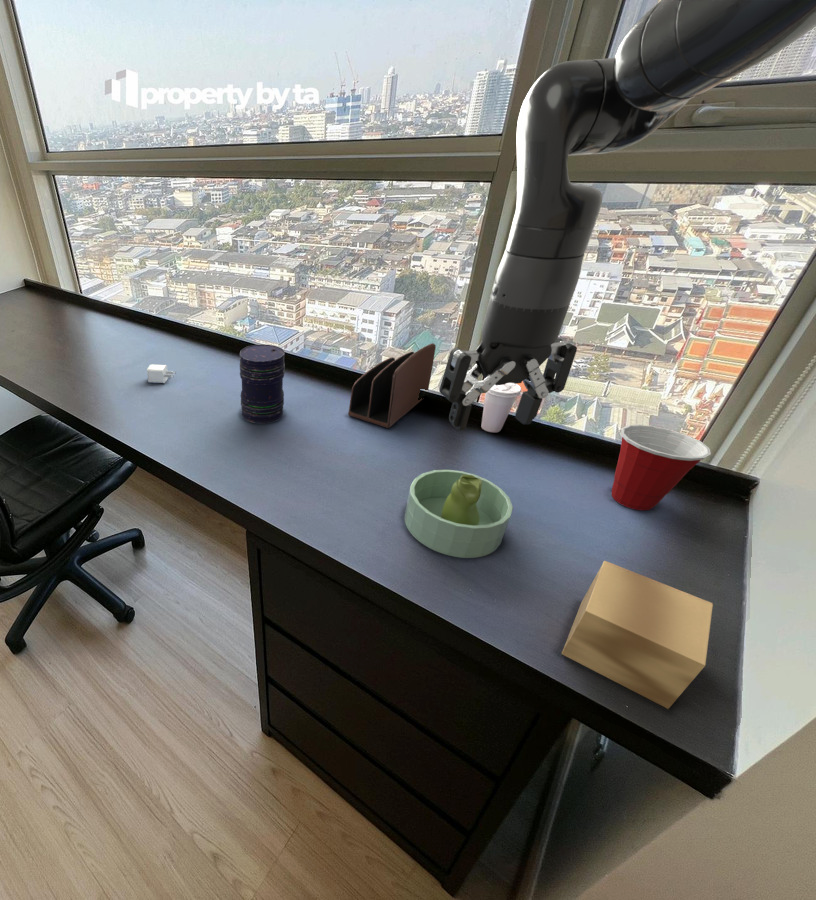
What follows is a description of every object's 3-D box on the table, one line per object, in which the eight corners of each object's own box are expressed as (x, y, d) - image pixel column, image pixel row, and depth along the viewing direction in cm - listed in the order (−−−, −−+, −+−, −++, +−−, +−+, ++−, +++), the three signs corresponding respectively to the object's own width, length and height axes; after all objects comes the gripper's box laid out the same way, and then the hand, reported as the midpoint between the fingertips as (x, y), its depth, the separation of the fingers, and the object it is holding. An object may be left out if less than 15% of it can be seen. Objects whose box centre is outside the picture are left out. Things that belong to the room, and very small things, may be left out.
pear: (440, 514, 79) (453, 464, 73) (476, 523, 76) (492, 472, 71) (435, 535, 75) (449, 484, 69) (473, 546, 72) (490, 494, 67)
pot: (523, 542, 73) (535, 512, 70) (446, 569, 70) (455, 538, 66) (455, 489, 84) (463, 462, 81) (386, 510, 81) (391, 481, 78)
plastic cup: (681, 499, 79) (719, 437, 73) (665, 530, 74) (704, 466, 67) (604, 472, 86) (632, 413, 80) (583, 499, 81) (612, 438, 74)
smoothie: (507, 423, 102) (527, 361, 94) (508, 438, 97) (529, 374, 90) (474, 418, 104) (490, 357, 97) (473, 432, 100) (491, 370, 92)
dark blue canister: (253, 427, 106) (252, 365, 98) (233, 409, 114) (231, 349, 106) (291, 416, 109) (293, 355, 101) (270, 399, 117) (270, 341, 109)
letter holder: (427, 396, 114) (439, 339, 107) (388, 429, 102) (399, 368, 95) (388, 385, 120) (396, 330, 112) (347, 415, 108) (353, 357, 101)
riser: (679, 647, 58) (713, 603, 53) (668, 709, 52) (705, 665, 47) (581, 603, 64) (604, 560, 59) (561, 654, 58) (585, 610, 53)
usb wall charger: (153, 377, 132) (151, 363, 130) (177, 378, 131) (175, 364, 129) (148, 383, 129) (146, 369, 127) (173, 384, 128) (171, 370, 125)
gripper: (485, 312, 48) (450, 446, 57) (620, 300, 49) (564, 434, 58) (448, 291, 54) (422, 415, 64) (568, 281, 55) (525, 405, 64)
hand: (490, 424), depth 61 cm, fingers open, 8 cm apart
